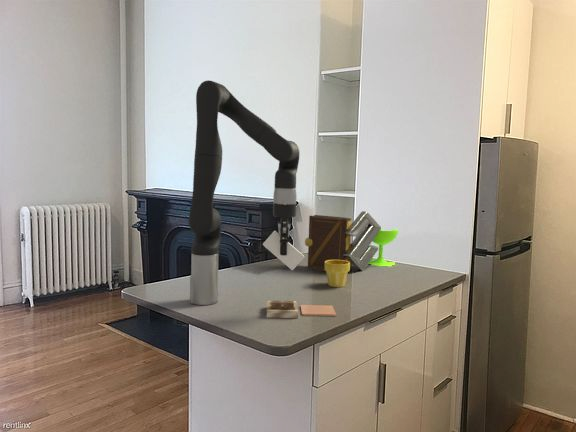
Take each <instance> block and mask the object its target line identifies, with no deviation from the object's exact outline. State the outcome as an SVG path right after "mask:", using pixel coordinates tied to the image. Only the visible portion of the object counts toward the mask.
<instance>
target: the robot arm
mask: <svg viewBox="0 0 576 432" xmlns="http://www.w3.org/2000/svg"><path fill="white" fill-rule="evenodd" d="M195 94H196V95H195V103H196V104H195V106H196V107H195V108H196V132H195V148H194V157H193V158H194V161H193V179H192V181H193V183H192V196H191V201H190V202H191V203H190V207H189V208H190V209H189V214H188V225H189V229H190V230H191V232H192V233H193V234H194V235H195V236H194V241H193V243H192V245H191V265H190V268H191V271H190V273H191V274H190V276H189V304H193V305H198V306H199V305H200V306H202V305H203V306H206V305H207V306H208V305H214V304H216V303H218V301H219V300H218V299H219V294H218V293H219V250H220V249H219V248H220V245H221V238H222V237H221V236H222V235H221V233H222V231H221V230H222V218H221V215H220V212H219V211H218V210H217V209H216V208H214V196H215V191H216V187H217V185H218V182H219V179H220V176H221V174H222V173H221V171H222V168H223V167H222V163H223V145H222V142H221V138H220V134H219V127H218V119H219V117H218V116H219V113H220V114H221V115H223V116H225V117H227V118H229V119H230V120H232V122H233V123H235V124H236V125H237V126H238V127H239V128H240V129H241V130H242V131H243V133H244V134H246V135H247V136H248V137H249V138H250V139H252V141H254V142H255V143H256V144H258V145H260V146H261V147H262V148H263V149H264V150H265V151H266V152H267V153H268V154H269V155H270V156H271V157H272V158H274V159H275V160H277V161H278V168H277V170H276V171H275V174H274V187H273V188H274V190H273V196H272V197H273V199H272V203H273V205H272V215H273V217H276V218H280V221H277V227H278V228H277V229H278V233H279V237H280V255H287V244H288V242H289V237H290V229H291V222H290V221H289V219H290V218H295V217H296V216H297V172H298V168H299V162H300V147H299V146H298V144H297V143H296V142H294V141H292V140H287V139H286V138H284V137H283V136H281V135H280V134H279V133H277V130H276V129H275V128H274V127H272V126H271V125H270V124H269V123H267V121H265V120H263V119H262V118H261V117H259V116H257V114H255V113H254V112H252V111H251V110H250V109H248V108H247V107H246V106H244V104H242V103H241V102H240V101H239V100H238V98H236V97H235V96H234V95H233V93H231V92H230V91H229V89H228V88H227V87H226V86H225V85H223V84H222V83H218V82H216V81H214V80H204V81H202V82H201V83H200V85H199V86H198V87H197V90H196V93H195ZM282 238H284V239H282Z"/></svg>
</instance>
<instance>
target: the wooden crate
mask: <svg viewBox="0 0 576 432" xmlns="http://www.w3.org/2000/svg"><path fill="white" fill-rule="evenodd" d="M308 217H309V218H308V221H309V222H308V237H306V238H305V239H304V245H305V246H306V247H308V248H307V250H308V251H307V269H310V270H314V271H322V272H326V270H325V261H327V260H345V261H348V260H347V259H346V258H345V257H344V256H343V253H344V252H345V251H346V250H347V249H348V247H349V246H350V244H351V236H349V235H347V234H346V233H345V231H346V230H347V229H348V227H349V226H350V225H351V224H352V218H351V217H345V216H343V217H342V216H334V215H333V216H332V215H331V216H330V215H320V214H314V215H309V216H308ZM348 262H349V261H348ZM348 272H349V273H350V271H348Z"/></svg>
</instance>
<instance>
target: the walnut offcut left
mask: <svg viewBox="0 0 576 432" xmlns="http://www.w3.org/2000/svg"><path fill="white" fill-rule="evenodd" d="M270 301H271V310H281V304H282V302H281V301H282V300H270Z"/></svg>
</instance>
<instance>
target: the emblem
mask: <svg viewBox="0 0 576 432" xmlns="http://www.w3.org/2000/svg"><path fill="white" fill-rule="evenodd" d="M381 227H382V226H381V225H380V224H379V223H378V222H377V221H376V219H374V218H373V217H372V216H371V214H370V213H369V212H368V211H365V210H363V211H361V212H360V213H359V214H358V216H357V217H356V218H355V219H354V221H353V222H351V225H350V226H349V227H348V229H347V230H346V231H345V233H346V234H347V235H349V236H350V237H355V238H354V239H353V241H351V242H350V246H349V247H348V249H347V250H346V251H345V252H344V253H343V256H344V257H345V258H346V259H347V260H348V261H349V262H350V265H352V266H353V267H354V268H355V269H356V270H357V271H359V270H360V272H364V271H365V269H366V268H367V267H368V266H369V265H368V264H369V262H370V261H371V259H374V258H373V257H374V256H375V255H376V253H377V252H379V246H376V245H371V244H372V243H373V242H372V241H373V239H374V238H375V237H376V235H377V234H378V232H379V231H380V230H381ZM363 270H364V271H363Z"/></svg>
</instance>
